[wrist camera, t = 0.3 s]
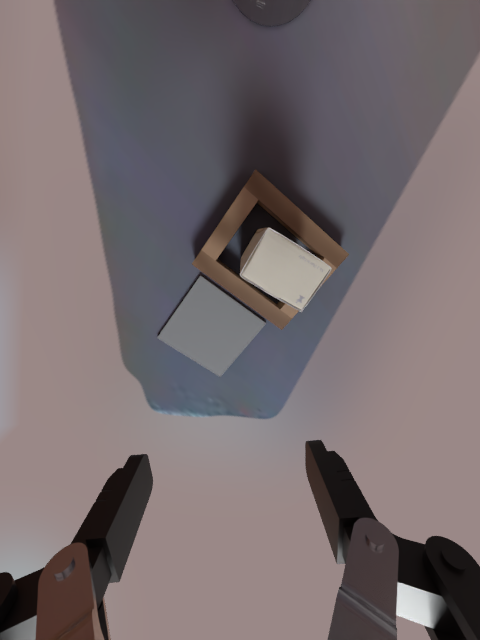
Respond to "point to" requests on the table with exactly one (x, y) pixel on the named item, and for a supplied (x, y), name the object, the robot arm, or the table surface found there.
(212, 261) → the frame
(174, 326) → the slate mat
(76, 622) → the robot arm
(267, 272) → the skincare box
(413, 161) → the table surface
